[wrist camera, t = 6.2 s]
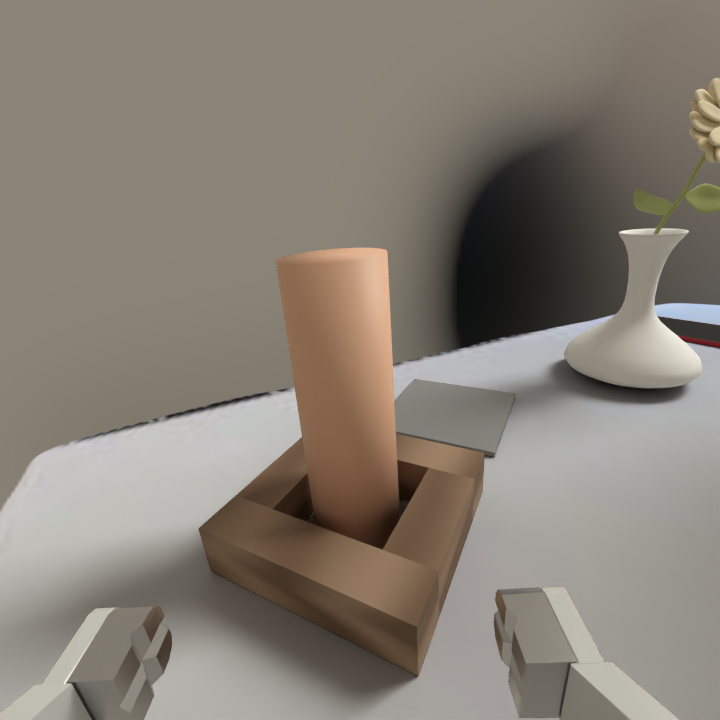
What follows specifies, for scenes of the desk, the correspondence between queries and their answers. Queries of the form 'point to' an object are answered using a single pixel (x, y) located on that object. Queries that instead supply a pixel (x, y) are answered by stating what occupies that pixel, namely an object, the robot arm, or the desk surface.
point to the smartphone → (694, 331)
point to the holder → (354, 549)
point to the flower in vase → (652, 283)
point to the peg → (344, 386)
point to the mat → (453, 415)
